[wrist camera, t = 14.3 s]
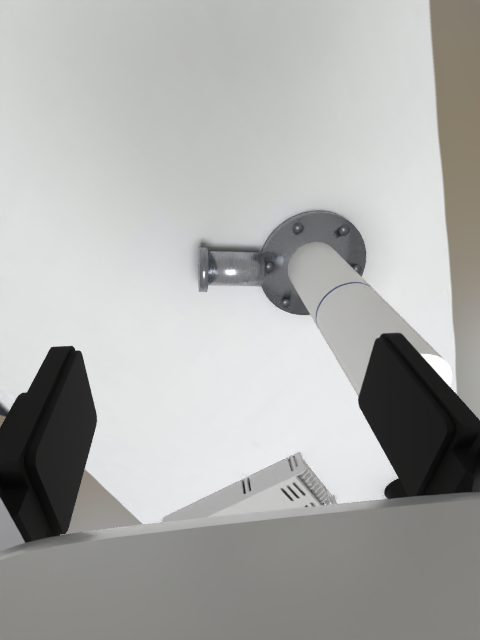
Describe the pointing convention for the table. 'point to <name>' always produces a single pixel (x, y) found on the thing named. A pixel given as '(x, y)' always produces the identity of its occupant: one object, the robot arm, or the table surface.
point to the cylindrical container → (350, 311)
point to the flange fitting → (282, 257)
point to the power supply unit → (262, 493)
